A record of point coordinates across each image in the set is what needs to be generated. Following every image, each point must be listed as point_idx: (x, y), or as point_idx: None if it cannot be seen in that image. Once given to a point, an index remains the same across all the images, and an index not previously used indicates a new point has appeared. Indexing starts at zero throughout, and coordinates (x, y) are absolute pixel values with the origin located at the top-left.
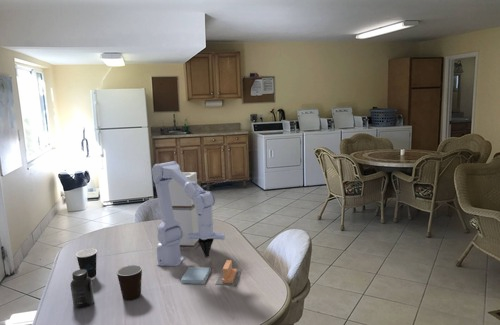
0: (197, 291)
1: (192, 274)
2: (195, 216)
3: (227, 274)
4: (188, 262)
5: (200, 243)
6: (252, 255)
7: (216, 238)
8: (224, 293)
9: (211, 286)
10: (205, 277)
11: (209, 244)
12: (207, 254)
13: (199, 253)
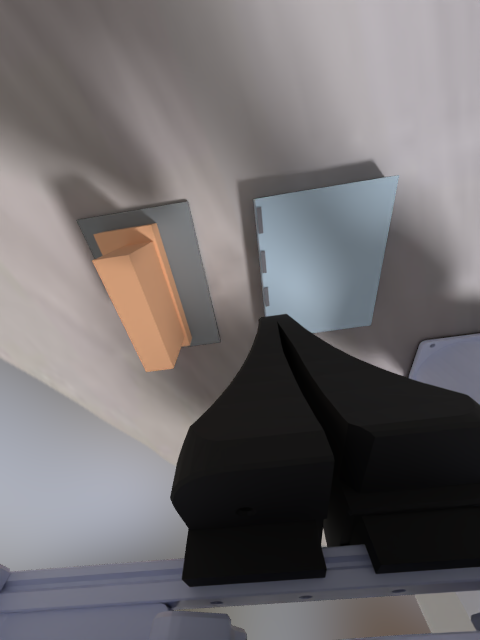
0: (257, 74)
1: (340, 255)
2: (447, 629)
3: (115, 250)
4: None
5: (436, 405)
6: (166, 446)
7: (104, 593)
8: (75, 89)
9: (199, 174)
10: (258, 238)
11: (219, 415)
12: (264, 326)
13: None
